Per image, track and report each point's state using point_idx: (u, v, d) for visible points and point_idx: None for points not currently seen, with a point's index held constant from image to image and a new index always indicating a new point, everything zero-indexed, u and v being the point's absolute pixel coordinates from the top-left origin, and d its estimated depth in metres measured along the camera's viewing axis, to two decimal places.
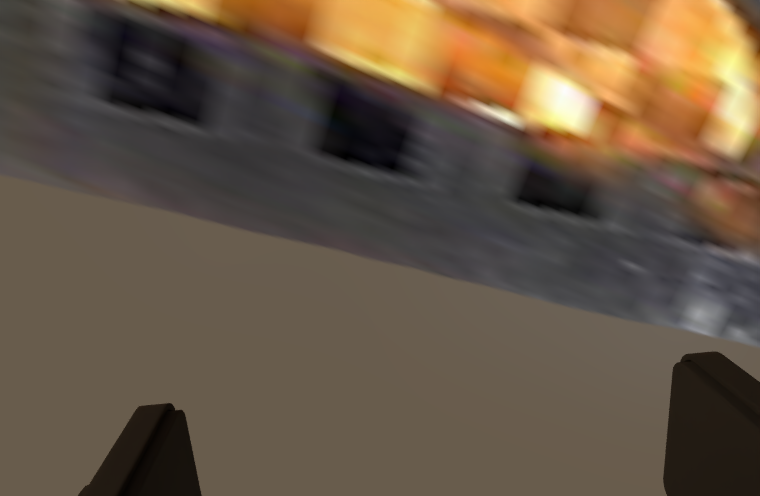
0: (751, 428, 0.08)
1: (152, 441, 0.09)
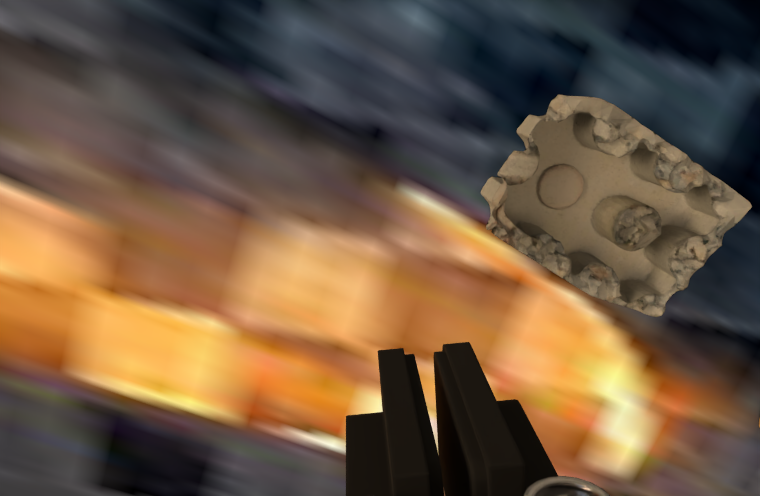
0: None
1: (408, 376, 0.10)
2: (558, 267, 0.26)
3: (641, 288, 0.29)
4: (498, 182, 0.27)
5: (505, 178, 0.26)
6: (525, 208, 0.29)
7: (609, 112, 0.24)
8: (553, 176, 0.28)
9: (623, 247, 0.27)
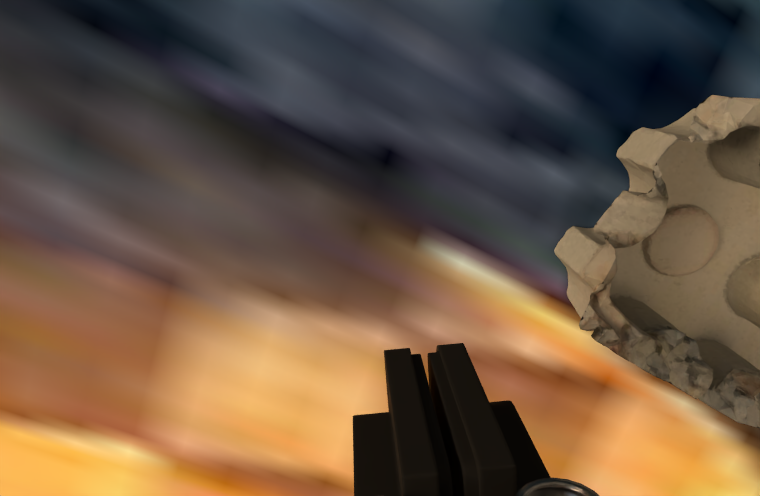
0: (445, 409, 0.10)
1: None
2: (691, 382, 0.16)
3: None
4: (591, 241, 0.16)
5: (608, 237, 0.15)
6: (622, 275, 0.18)
7: None
8: (673, 226, 0.17)
9: None
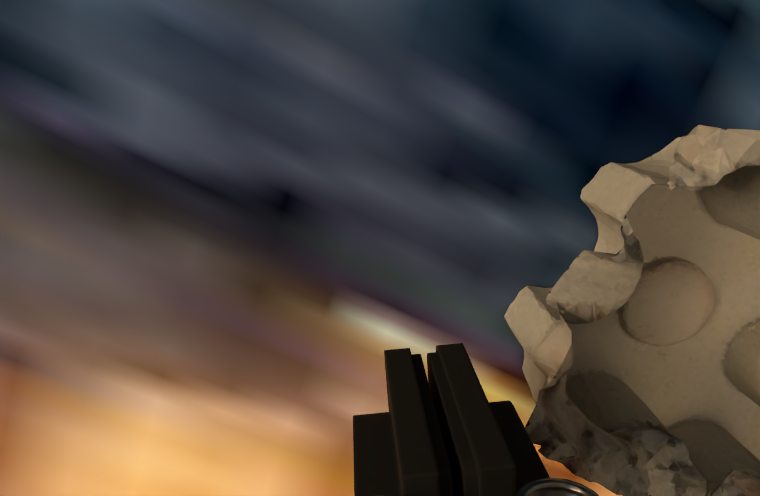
0: (445, 410, 0.10)
1: (415, 376, 0.10)
2: None
3: None
4: (545, 311, 0.12)
5: (565, 311, 0.11)
6: (592, 344, 0.14)
7: None
8: (655, 285, 0.13)
9: None
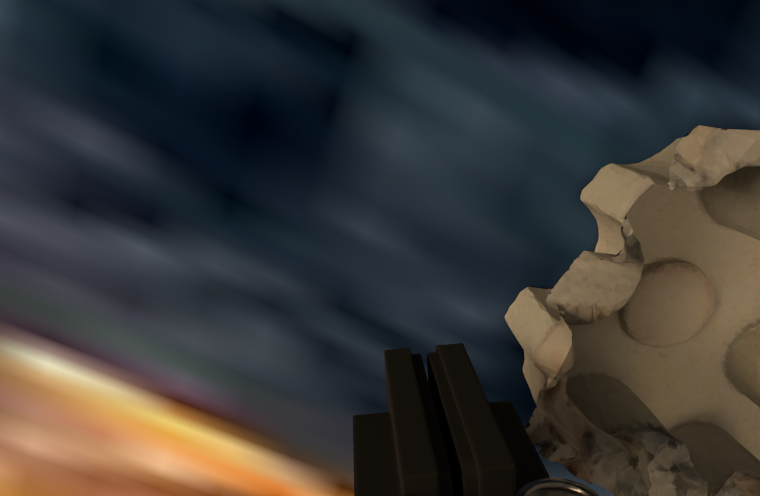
0: (445, 409, 0.10)
1: (415, 376, 0.10)
2: None
3: None
4: (546, 312, 0.12)
5: (565, 312, 0.11)
6: (593, 346, 0.14)
7: None
8: (656, 286, 0.13)
9: None
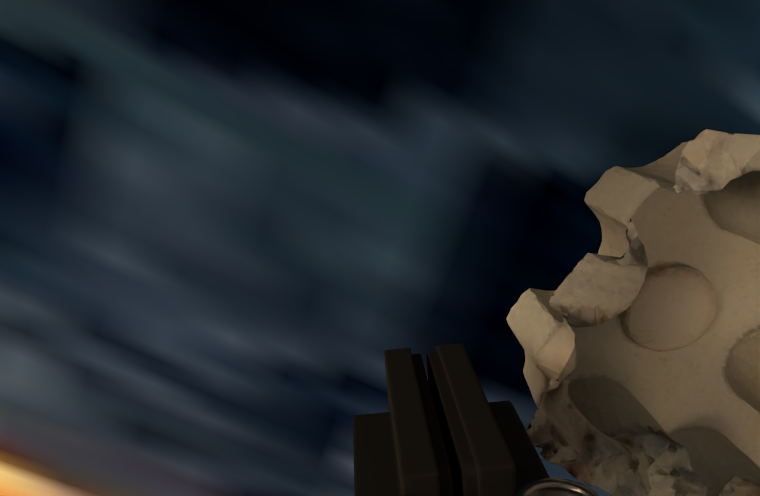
0: (444, 410, 0.10)
1: None
2: None
3: None
4: (548, 314, 0.12)
5: (568, 314, 0.11)
6: (594, 348, 0.14)
7: None
8: (658, 290, 0.13)
9: None
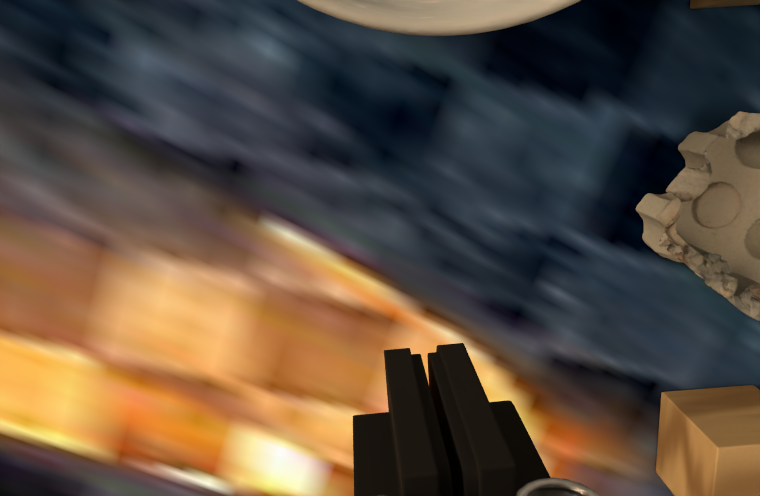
0: (445, 409, 0.10)
1: None
2: (723, 287, 0.26)
3: None
4: (663, 199, 0.26)
5: (675, 195, 0.25)
6: (678, 226, 0.28)
7: None
8: (712, 194, 0.27)
9: None
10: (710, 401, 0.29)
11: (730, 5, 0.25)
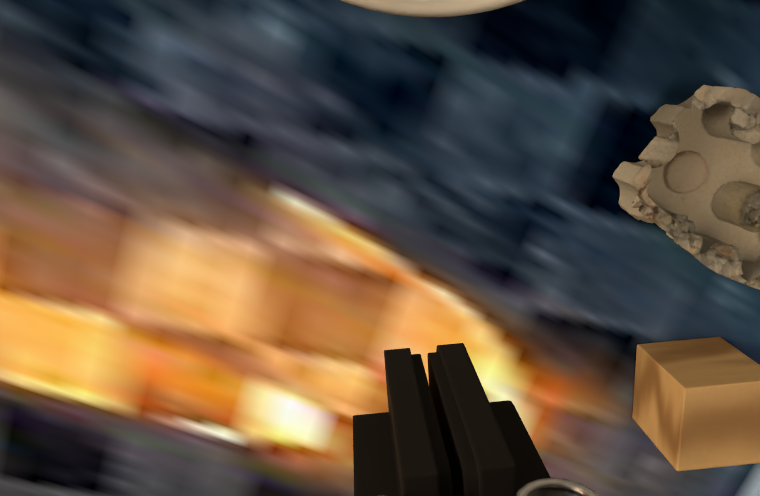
0: (445, 409, 0.10)
1: (415, 376, 0.10)
2: (690, 245, 0.29)
3: (757, 268, 0.31)
4: (636, 165, 0.29)
5: (647, 161, 0.28)
6: (651, 192, 0.31)
7: (750, 102, 0.27)
8: (681, 162, 0.30)
9: (748, 228, 0.29)
10: (680, 351, 0.32)
11: None
